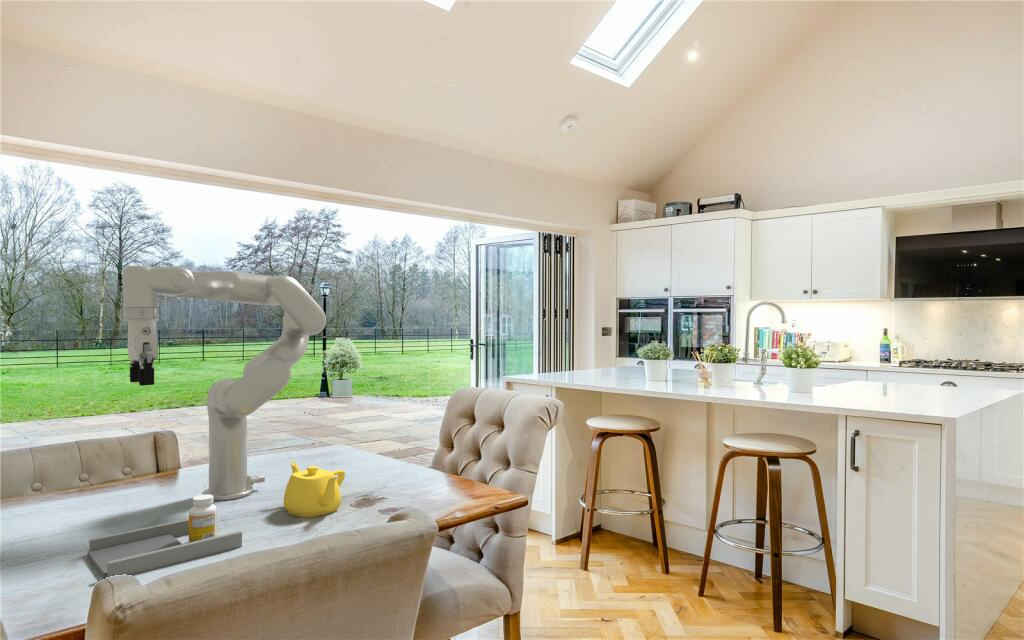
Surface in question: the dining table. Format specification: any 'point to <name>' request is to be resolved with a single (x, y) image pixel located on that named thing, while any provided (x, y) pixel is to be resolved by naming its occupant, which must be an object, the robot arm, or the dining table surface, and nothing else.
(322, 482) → the teapot
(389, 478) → the dining table surface
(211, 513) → the supplement bottle
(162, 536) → the grey channel
